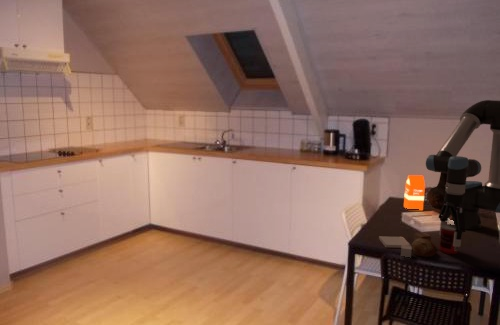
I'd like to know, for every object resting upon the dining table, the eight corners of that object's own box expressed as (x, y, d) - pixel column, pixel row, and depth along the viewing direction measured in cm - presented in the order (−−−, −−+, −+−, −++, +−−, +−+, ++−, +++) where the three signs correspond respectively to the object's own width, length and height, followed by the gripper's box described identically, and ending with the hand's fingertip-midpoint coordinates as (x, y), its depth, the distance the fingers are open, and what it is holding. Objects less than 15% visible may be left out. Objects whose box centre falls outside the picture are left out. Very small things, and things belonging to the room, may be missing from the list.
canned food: (457, 249, 189) (459, 225, 187) (459, 255, 182) (462, 230, 180) (438, 246, 192) (440, 223, 190) (439, 253, 184) (442, 228, 182)
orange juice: (423, 210, 250) (426, 176, 246) (407, 210, 250) (410, 176, 246) (418, 206, 258) (421, 174, 254) (403, 206, 258) (406, 173, 254)
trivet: (402, 239, 200) (402, 236, 200) (410, 248, 189) (411, 245, 189) (378, 238, 200) (379, 236, 200) (385, 247, 190) (386, 244, 189)
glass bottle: (464, 212, 249) (470, 164, 244) (433, 211, 249) (438, 163, 244) (450, 203, 266) (455, 159, 261) (421, 203, 266) (425, 158, 261)
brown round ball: (423, 242, 197) (424, 232, 196) (430, 246, 192) (431, 235, 191) (413, 243, 196) (414, 232, 195) (420, 247, 191) (421, 236, 190)
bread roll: (409, 256, 190) (403, 240, 188) (430, 246, 190) (424, 230, 188) (420, 265, 180) (413, 249, 178) (442, 255, 180) (436, 238, 179)
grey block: (410, 255, 181) (411, 246, 181) (410, 258, 178) (411, 249, 177) (400, 253, 183) (401, 244, 182) (400, 257, 179) (401, 248, 178)
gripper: (433, 186, 195) (429, 231, 198) (459, 199, 170) (453, 250, 173) (450, 186, 195) (445, 231, 198) (478, 200, 170) (472, 251, 173)
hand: (449, 240), depth 186 cm, fingers open, 13 cm apart
